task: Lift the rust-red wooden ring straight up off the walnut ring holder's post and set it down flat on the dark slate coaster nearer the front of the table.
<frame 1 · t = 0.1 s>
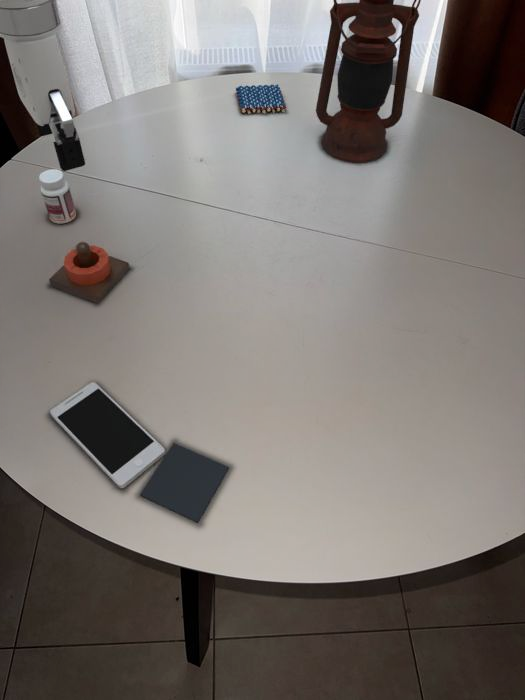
hand: (61, 149, 79), 22 cm above the table, tool pointing down, fingers open, 9 cm apart
smartphone: (107, 434, 76), on the table
pill bottle: (63, 217, 105), on the table
blue beaded mat: (260, 103, 133), on the table
ring holder: (91, 277, 94), on the table
ring: (89, 270, 93), point 1 cm above the table, touching ring holder
lantern: (353, 145, 122), on the table
coaster: (185, 481, 71), on the table
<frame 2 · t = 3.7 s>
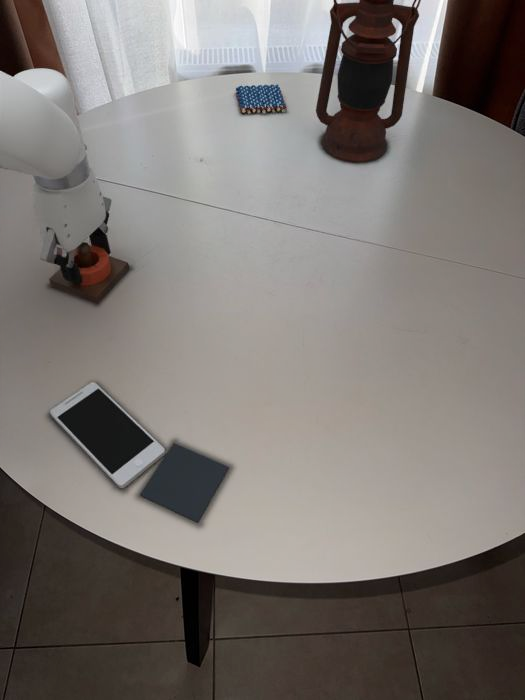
hand: (87, 265, 92), 3 cm above the table, tool pointing down, fingers closed on ring, 6 cm apart
ring: (89, 270, 93), point 1 cm above the table, touching gripper, ring holder
everything else where it was.
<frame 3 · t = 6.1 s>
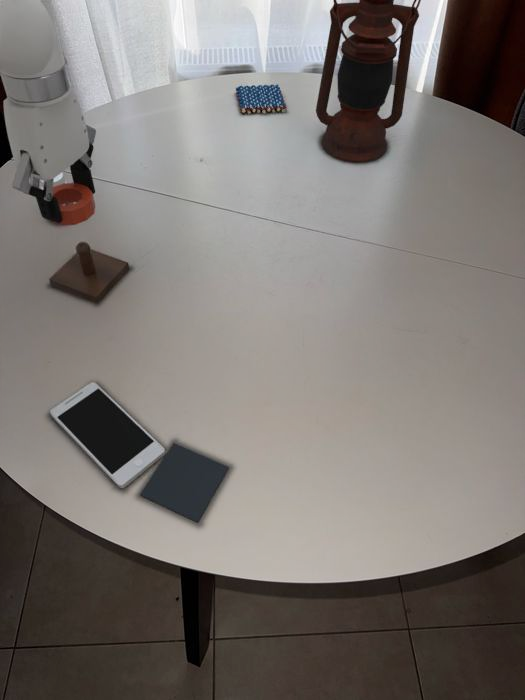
hand: (69, 204, 83), 15 cm above the table, tool pointing down, fingers closed on ring, 6 cm apart
ring: (71, 210, 84), point 13 cm above the table, touching gripper
everything else where it was.
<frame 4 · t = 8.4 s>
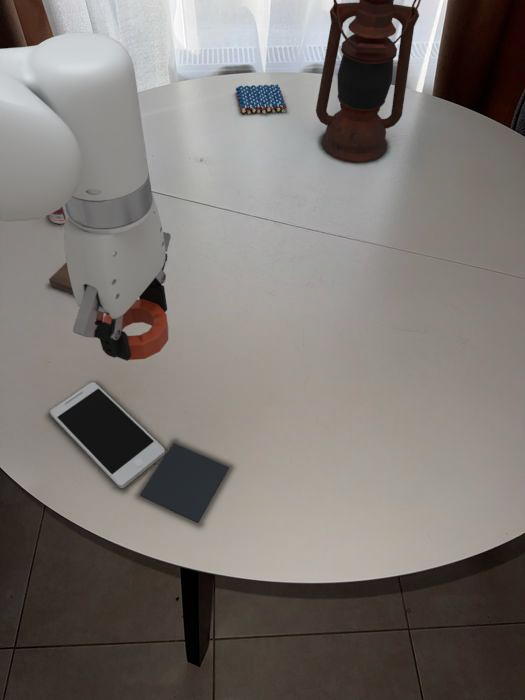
hand: (136, 330, 64), 18 cm above the table, tool pointing down, fingers closed on ring, 6 cm apart
ring: (137, 336, 65), point 17 cm above the table, touching gripper
everything else where it was.
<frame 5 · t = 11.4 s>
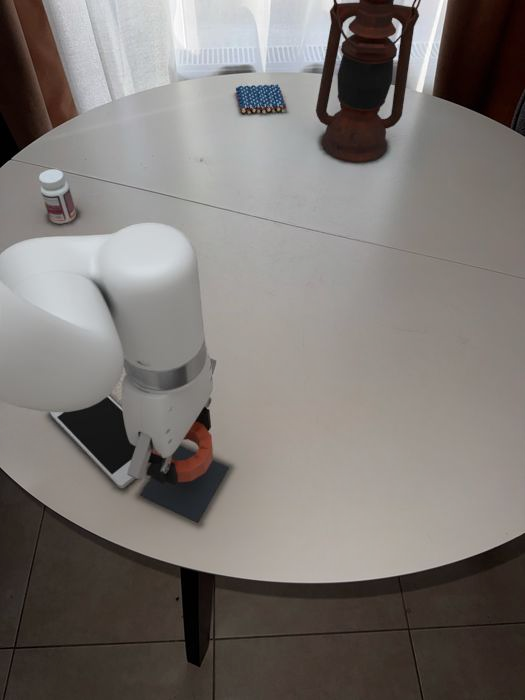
hand: (181, 450, 66), 7 cm above the table, tool pointing down, fingers closed on ring, 6 cm apart
ring: (183, 455, 67), point 6 cm above the table, touching gripper
everything else where it was.
when the fingers open (1 cm above the table, at t = 13.4 s): ring stays where it is, resting on coaster.
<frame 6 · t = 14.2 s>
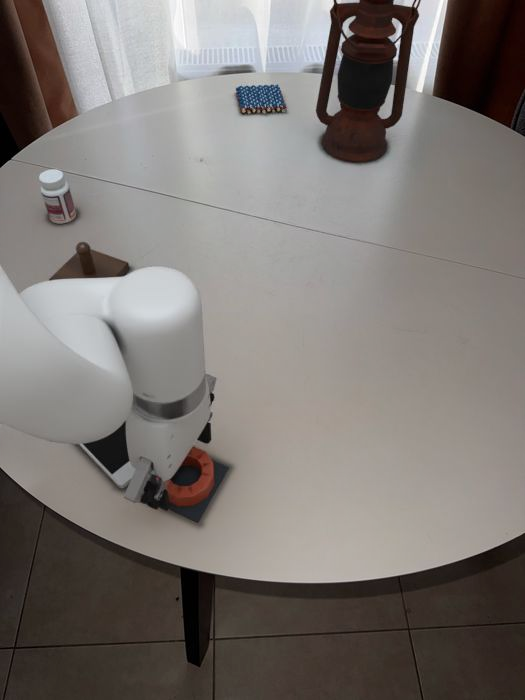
hand: (179, 469, 69), 3 cm above the table, tool pointing down, fingers open, 9 cm apart
ring: (186, 480, 71), resting on coaster
everything else where it was.
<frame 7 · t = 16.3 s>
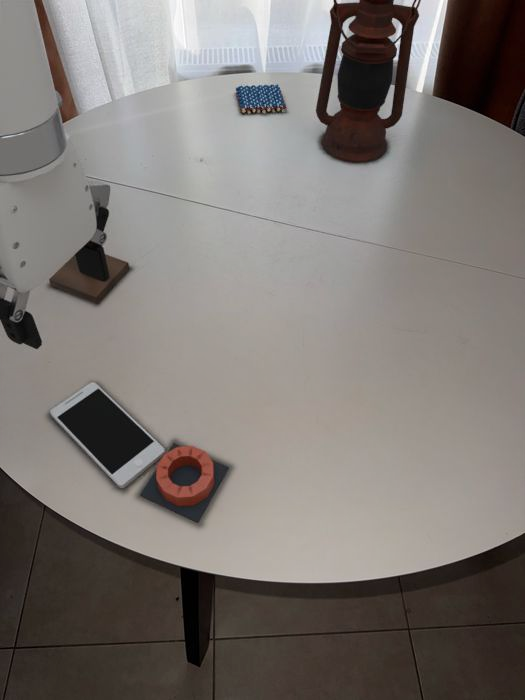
hand: (62, 306, 54), 26 cm above the table, tool pointing down, fingers open, 9 cm apart
nothing on the table moved.
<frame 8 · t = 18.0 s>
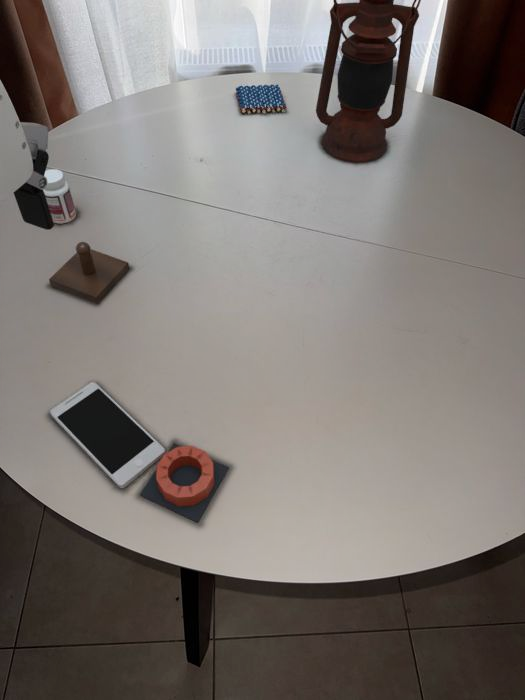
hand: (4, 254, 52), 30 cm above the table, tool pointing down, fingers open, 9 cm apart
nothing on the table moved.
at the end: ring 0.1 cm off-centre on the coaster, point 0.3 cm above the coaster's base; ring tilted 0°; the gripper is holding nothing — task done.
